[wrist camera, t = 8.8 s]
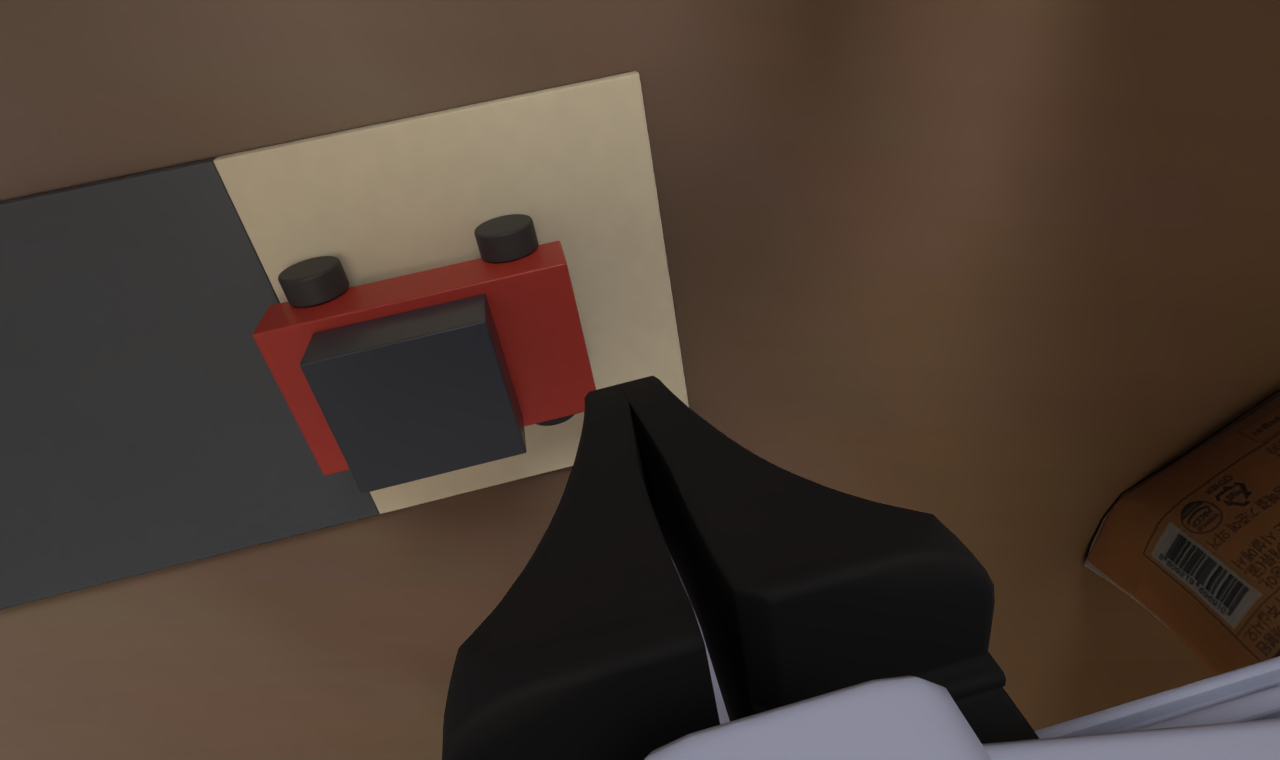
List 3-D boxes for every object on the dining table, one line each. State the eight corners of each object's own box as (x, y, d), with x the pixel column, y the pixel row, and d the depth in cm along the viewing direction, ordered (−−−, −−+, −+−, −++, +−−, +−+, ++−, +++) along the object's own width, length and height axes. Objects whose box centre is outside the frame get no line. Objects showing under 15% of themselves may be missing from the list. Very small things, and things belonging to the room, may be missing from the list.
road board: (690, 429, 25) (693, 435, 25) (-16, 606, 23) (-23, 615, 23) (636, 70, 19) (639, 72, 19) (-336, 270, 17) (-354, 276, 17)
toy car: (593, 387, 23) (614, 465, 20) (347, 447, 23) (324, 538, 19) (551, 204, 20) (567, 257, 17) (262, 268, 19) (214, 337, 16)
